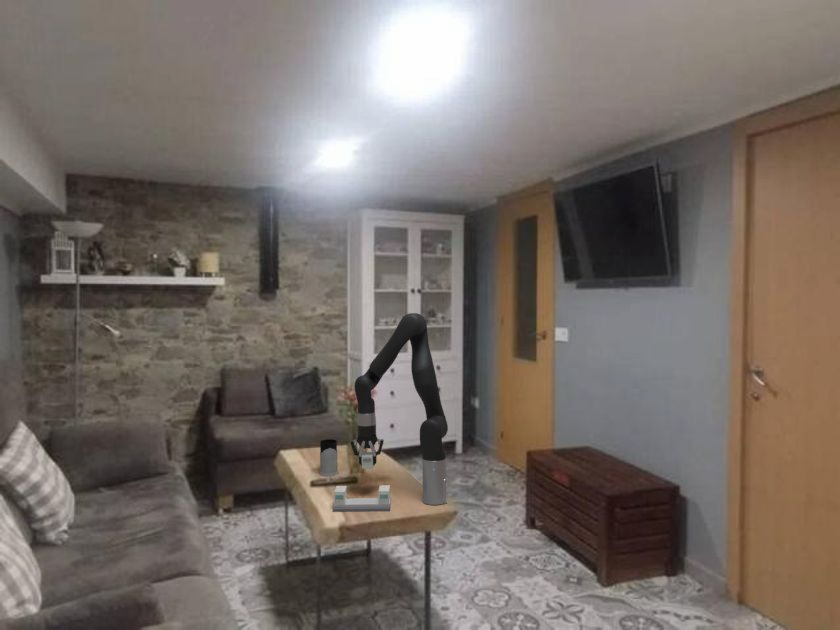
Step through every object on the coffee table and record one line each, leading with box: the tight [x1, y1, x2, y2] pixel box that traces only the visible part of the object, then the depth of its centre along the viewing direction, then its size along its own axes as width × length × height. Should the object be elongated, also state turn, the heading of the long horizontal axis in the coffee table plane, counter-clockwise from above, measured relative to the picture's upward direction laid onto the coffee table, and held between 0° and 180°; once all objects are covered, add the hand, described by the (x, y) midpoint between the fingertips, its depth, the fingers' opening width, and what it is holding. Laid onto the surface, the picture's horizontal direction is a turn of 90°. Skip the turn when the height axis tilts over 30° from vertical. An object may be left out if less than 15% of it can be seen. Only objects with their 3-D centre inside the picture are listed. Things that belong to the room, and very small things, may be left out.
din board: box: [332, 484, 392, 513], centre depth 231 cm, size 22×12×7 cm, turn 91°
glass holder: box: [318, 438, 339, 477], centre depth 277 cm, size 9×14×15 cm, turn 16°
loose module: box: [361, 451, 375, 470], centre depth 244 cm, size 4×7×5 cm, turn 1°
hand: (367, 464), depth 244 cm, fingers closed on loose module, 4 cm apart
